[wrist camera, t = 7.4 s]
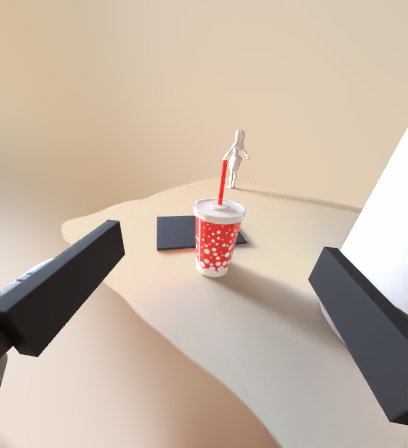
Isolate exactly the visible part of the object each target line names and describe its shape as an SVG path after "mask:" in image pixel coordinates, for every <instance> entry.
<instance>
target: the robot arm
mask: <svg viewBox="0 0 408 448" xmlns="http://www.w3.org/2000/svg"><path fill="white" fill-rule="evenodd" d="M124 255H125V251H124V245H123V239H122V233H121V228H120V222H119V221H115V220H107V221H106V222H104V223H103V224H102V225H100V226H99V227H97V228H96V229H95V230H93V231H92V232H90V233H89V234H88V235H86V236H85V237H83V238H82V239H81V240H79V241H78V242H76V243H75V244H74V245H72V246H71V247H69V248H68V249H67V250H65V251H64V252H62V253H61V254H60V255H58V256H57V257H55V258H54V259H50V260H48V261H46V262H43V263H41V264H39V265H37V266H36V267H34V268H33V269H31V270H30V271H28V272H27V274H26V275H25V274H24V275H23V276H21V277H20V278H18V279H17V281H14V282H12V283H11V284H10V285H8V286H7V287H5V288H4V289H2V290H1V291H0V386H1V382H2V379H3V375H4V371H5V367H6V364H7V354H6V352H7V351H8V350H9V349H10V348H11V347H12V346H14V347H15V348H16V350H17V351H18V352H19V353H20V354H23V355H29V356H35V357H38V356H39V355H40V354H41V353H42V351H43V350H44V349H45V348H46V347H47V346H48V344H49V343H50V342H51V341H52V340H53V338H54V337H55V336H56V335H57V334H58V333H59V331H60V330H61V329H62V328H63V326H65V324H66V323H67V322H68V321H69V320H70V319H71V317H72V316H73V315H74V313H76V311H77V310H78V309H79V308H80V307H81V306H82V304H83V303H84V302H85V301H86V300H87V299H88V297H89V296H90V295H91V294H92V292H93V291H94V290H95V289H96V288H97V287H98V285H99V284H100V283H101V282H102V281H103V280H104V278H105V277H106V276H107V275H108V274H109V273H110V271H111V270H112V269H113V268H114V267H115V266H116V264H117V263H118V262H119V261H120V260H121V258H122V257H123V256H124ZM308 280H309V282H310V284H311V285H312V287H313V289H314V291H315V292H316V294H317V296H318V297H319V299H320V301H321V303H322V304H323V306H324V308H325V310H326V311H327V313H328V315H329V317H330V318H331V320H332V322H333V324H334V325H335V327H336V329H337V331H338V332H339V334H340V336H341V338H342V339H343V341H344V343H345V345H346V346H347V348H348V350H349V352H350V353H351V355H352V357H353V359H354V360H355V362H356V364H357V366H358V367H359V369H360V371H361V373H362V374H363V376H364V378H365V380H366V381H367V383H368V385H369V387H370V388H371V390H372V392H373V393H374V395H375V397H376V399H377V400H378V402H379V404H380V406H381V407H382V409H383V411H384V413H385V414H386V416H387V418H388V420H389V421H390V422H393V423H398V424H404V425H408V314H406V313H405V312H404V311H402V310H401V309H399V308H397V307H395V306H394V305H393V304H392V303H391V302H390V301H389V300H388V299H387V298H386V297H385V296H384V295H383V294H382V293H381V292H380V291H379V290H378V289H377V288H376V287H375V286H374V285H373V284H372V283H371V282H370V281H369V280H368V279H367V278H366V277H365V276H364V275H363V274H362V273H361V272H360V271H359V270H358V269H357V268H356V267H355V266H354V265H353V264H352V262H351V261H350V260H349V259H348V258H347V257H346V256H345V255H344V254H343V253H342V252H341V251H340V250H339V249H338V248H331V247H324V248H323V250H322V252H321V254H320V256H319V259H318V261H317V263H316V265H315V267H314V269H313V271H312V273H311V275H310V277H309V279H308Z"/></svg>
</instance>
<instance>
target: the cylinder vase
mask: <svg viewBox="0 0 408 448" xmlns="http://www.w3.org/2000/svg"><path fill="white" fill-rule="evenodd" d="M340 251H341V252H342V253H343V254H344V255H345V256H346V257H347V258H348V259H349V260H350V261H351V262H352V264H353V265H354V266H355V267H356V268H357V269H358V270H359V271H360V272H361V273H362V274H363V275H364V276H365V277H366V278H367V279H368V280H369V281H370V282H371V283H372V284H373V285H374V286H375V287H376V288H377V289H378V290H379V291H380V292H381V293H382V294H383V295H384V296H385V297H386V298H387V299H388V300H389V301H390V302H391V303H392V304H393V305H394V306H395V307H397V308H399V309H401V310H402V311H404V312H405V313H406V314H408V128H407V130H406V132H405V134H404V136H403V138H402V140H401V141H400V143H399V145H398V147H397V148H396V150H395V152H394V154H393V156H392V158H391V159H390V161H389V163H388V165H387V167H386V169H385V170H384V172H383V174H382V176H381V178H380V179H379V181H378V183H377V185H376V187H375V189H374V190H373V192H372V194H371V196H370V198H369V200H368V201H367V203H366V205H365V207H364V209H363V210H362V212H361V214H360V216H359V218H358V219H357V221H356V223H355V225H354V227H353V229H352V230H351V232H350V234H349V236H348V238H347V239H346V241H345V243H344V245H343V247H342V249H341V250H340ZM319 304H320V307H321V310H322V313H323V315H324V317H325V319H326V320H327V322H328V324H329V325H330V327H331V328H332V330H333V331H334V332H335V334H336V335H337V336H338V337H339V339H340V340H341V341H342V342H343V343H344V341H343V339H342V338H341V336H340V334H339V332H338V331H337V329H336V327H335V325H334V324H333V322H332V320H331V318H330V317H329V315H328V313H327V311H326V310H325V308H324V306H323V304H322V303H321V301H320V299H319ZM344 344H345V343H344Z"/></svg>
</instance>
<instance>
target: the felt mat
mask: <svg viewBox="0 0 408 448" xmlns="http://www.w3.org/2000/svg"><path fill="white" fill-rule="evenodd" d="M244 243H247V241H246V240H245V239H244V237H243V236H242V235H241V234H240V232H239V231H238V235H237V239H236V242H235V244H244ZM194 247H196V216H171V217H157V250H169V249H182V248H194Z"/></svg>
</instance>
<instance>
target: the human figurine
mask: <svg viewBox="0 0 408 448" xmlns="http://www.w3.org/2000/svg"><path fill="white" fill-rule="evenodd" d="M235 134H236V143H234V144H233V146H232V148H231V150H229V151H228V152H227V154H226V155H225V156H224V157H223V159H224V160H225V158H226V156H227V155H228V154H229V153H231V151H232V150H233V156H232V157H231V159H230V162H229V165H230V171H231V172H230V183H229V186H226V187H229V188H231V187H233V188H234V187H235V186H234V182H235V180H236V172H237V170H238V168H239V165H240V162H241V160H242V157H240V156H239V155H238V151H240V150H241V149H243V151H244V154H245V155H246V158H247V160H250V159H249V157H248V156H247V153H246V151H245V150H244V147H243V146H244V145H243V141H244V137H245V132H244V131H243V130H238V131H236V133H235ZM222 161H223V160H222ZM233 171H234V179H233ZM232 180H233V184H232V185H231V182H232Z"/></svg>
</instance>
